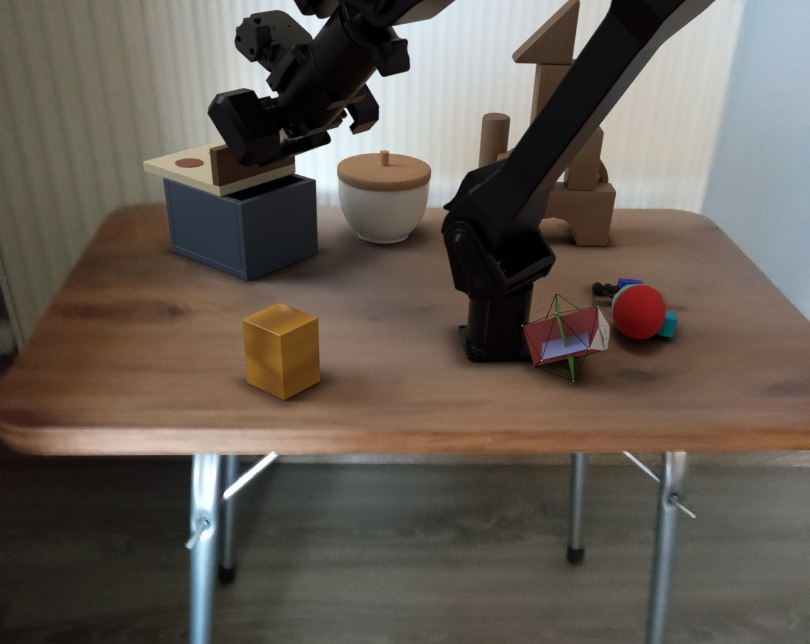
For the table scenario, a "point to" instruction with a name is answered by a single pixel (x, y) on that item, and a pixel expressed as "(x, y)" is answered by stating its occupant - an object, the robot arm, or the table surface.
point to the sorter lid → (215, 169)
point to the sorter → (245, 225)
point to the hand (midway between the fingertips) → (259, 162)
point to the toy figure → (638, 309)
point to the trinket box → (383, 194)
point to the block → (282, 350)
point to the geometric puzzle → (567, 336)
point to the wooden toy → (586, 175)
